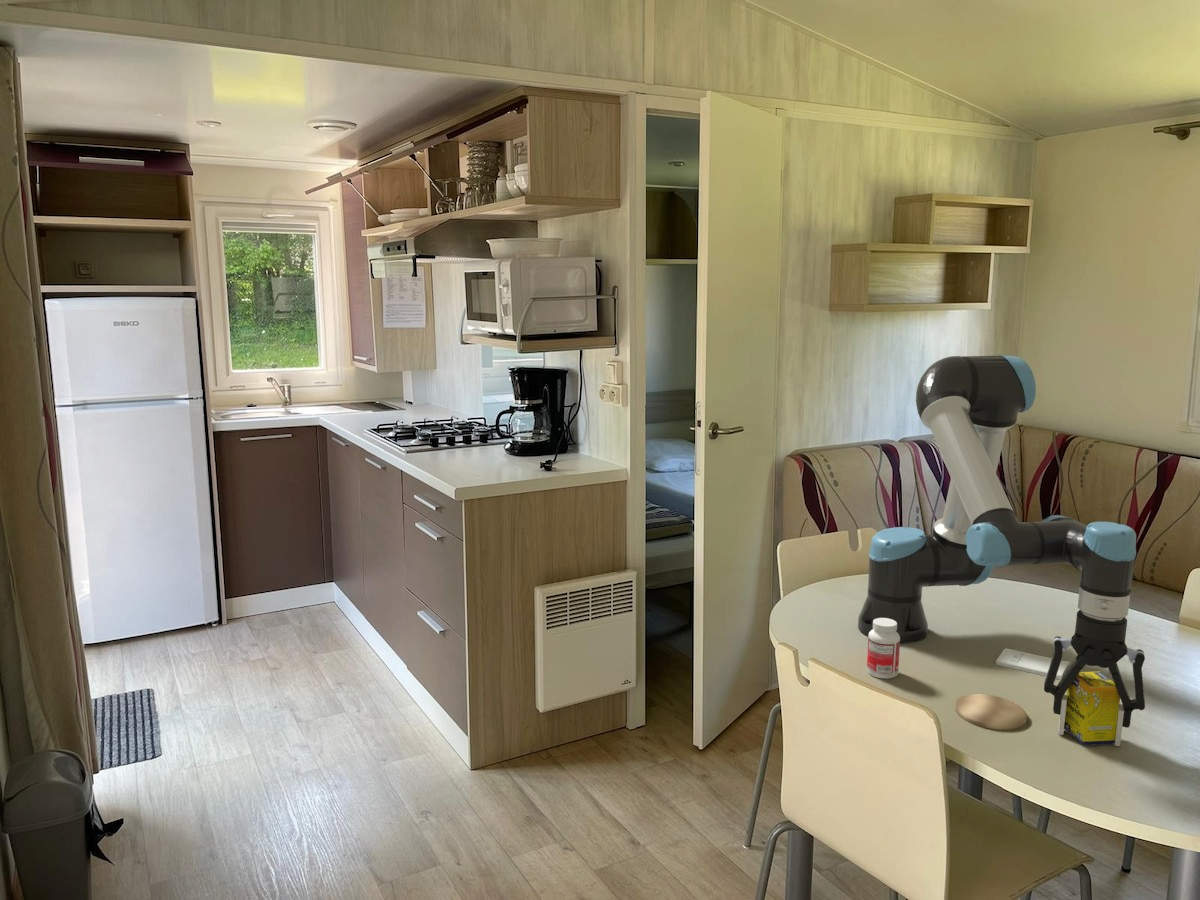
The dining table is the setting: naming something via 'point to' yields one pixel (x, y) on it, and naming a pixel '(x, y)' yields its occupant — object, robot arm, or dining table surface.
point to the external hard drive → (1029, 663)
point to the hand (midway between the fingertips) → (1088, 736)
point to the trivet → (991, 712)
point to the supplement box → (1092, 709)
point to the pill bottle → (883, 649)
